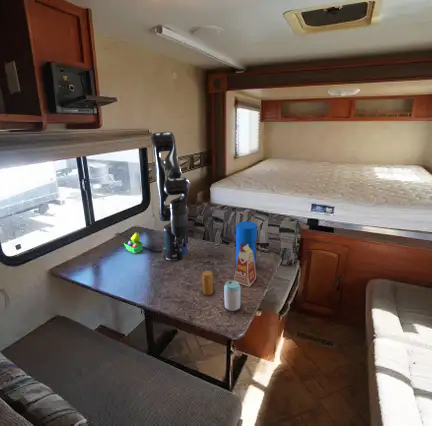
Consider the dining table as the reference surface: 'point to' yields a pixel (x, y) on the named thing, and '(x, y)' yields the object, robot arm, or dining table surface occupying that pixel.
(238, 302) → the can
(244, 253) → the milk carton
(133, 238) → the fruit basket
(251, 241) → the thermos
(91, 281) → the dining table surface
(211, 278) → the jar
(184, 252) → the jar lid
